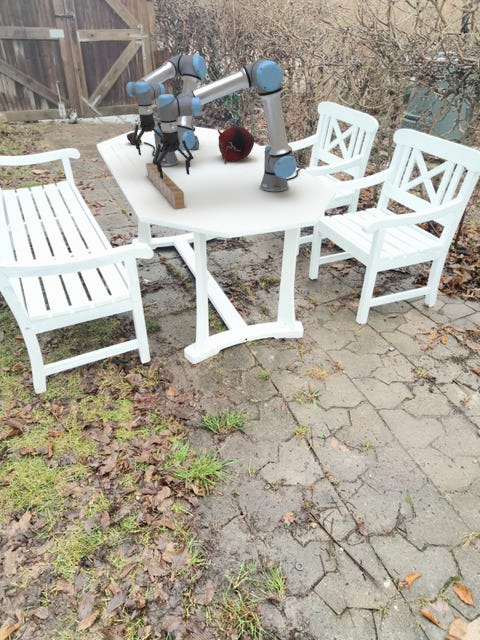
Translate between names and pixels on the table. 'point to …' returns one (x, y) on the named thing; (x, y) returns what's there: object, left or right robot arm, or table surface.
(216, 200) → the table surface
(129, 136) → the rock
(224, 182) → the table surface
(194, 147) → the koala plush
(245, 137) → the decorative skull
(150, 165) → the post
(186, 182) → the table surface
